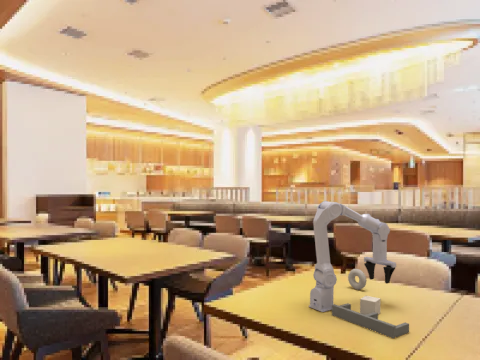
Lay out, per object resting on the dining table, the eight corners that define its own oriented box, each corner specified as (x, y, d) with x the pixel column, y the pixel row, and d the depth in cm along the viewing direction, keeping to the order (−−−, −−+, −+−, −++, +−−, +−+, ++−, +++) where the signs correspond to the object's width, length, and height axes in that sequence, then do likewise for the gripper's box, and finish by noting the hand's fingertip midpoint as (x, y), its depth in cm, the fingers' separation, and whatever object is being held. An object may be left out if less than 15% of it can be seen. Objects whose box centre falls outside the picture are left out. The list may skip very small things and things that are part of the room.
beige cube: (360, 314, 150) (360, 298, 150) (365, 310, 155) (365, 295, 155) (375, 317, 146) (375, 301, 146) (380, 313, 151) (380, 298, 151)
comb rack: (393, 338, 126) (393, 326, 126) (331, 315, 148) (332, 304, 148) (409, 332, 132) (409, 320, 132) (347, 310, 153) (347, 300, 153)
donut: (368, 291, 182) (368, 270, 182) (363, 292, 180) (363, 271, 180) (350, 286, 190) (351, 266, 190) (346, 287, 188) (346, 267, 188)
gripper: (400, 251, 160) (400, 283, 159) (370, 246, 171) (370, 276, 171) (390, 253, 155) (390, 286, 155) (361, 247, 167) (360, 278, 167)
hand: (379, 281), depth 163 cm, fingers open, 7 cm apart
